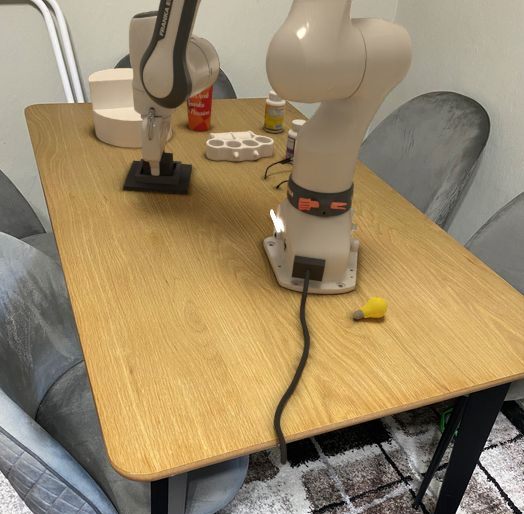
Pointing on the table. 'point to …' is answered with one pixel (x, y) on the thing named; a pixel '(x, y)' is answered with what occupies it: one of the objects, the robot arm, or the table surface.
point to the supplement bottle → (274, 113)
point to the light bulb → (372, 309)
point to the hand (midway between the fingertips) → (158, 165)
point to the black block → (161, 165)
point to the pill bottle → (293, 138)
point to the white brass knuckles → (238, 146)
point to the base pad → (159, 179)
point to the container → (116, 108)
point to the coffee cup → (200, 110)
